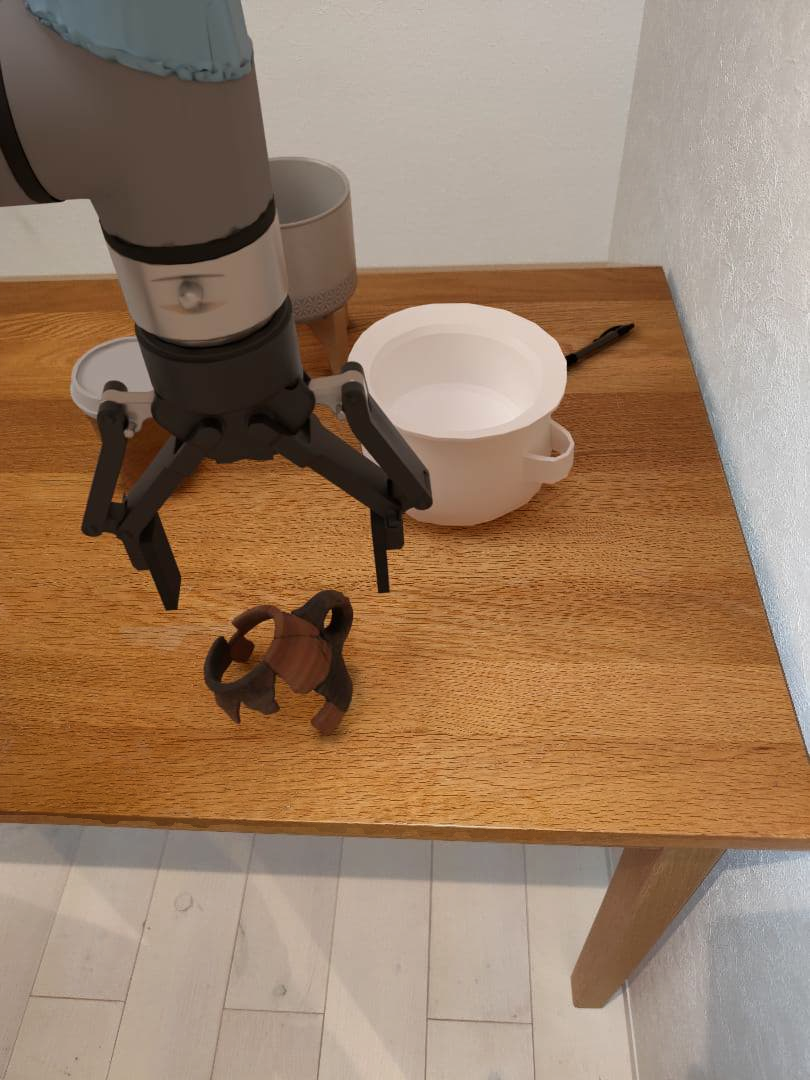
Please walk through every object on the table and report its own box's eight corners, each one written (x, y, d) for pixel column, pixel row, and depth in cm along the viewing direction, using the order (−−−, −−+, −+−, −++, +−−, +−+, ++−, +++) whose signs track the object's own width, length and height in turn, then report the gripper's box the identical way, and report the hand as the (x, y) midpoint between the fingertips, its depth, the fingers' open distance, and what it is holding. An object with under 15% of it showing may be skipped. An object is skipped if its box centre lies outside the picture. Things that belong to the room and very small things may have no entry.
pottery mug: (313, 778, 62) (236, 718, 57) (243, 735, 69) (170, 679, 64) (407, 638, 66) (343, 571, 61) (332, 611, 73) (269, 549, 68)
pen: (624, 324, 95) (626, 315, 94) (636, 332, 94) (638, 322, 93) (527, 378, 89) (528, 369, 89) (539, 386, 88) (540, 377, 88)
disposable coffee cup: (85, 483, 82) (40, 378, 73) (159, 425, 87) (126, 320, 78) (158, 524, 78) (121, 419, 69) (232, 461, 83) (206, 355, 74)
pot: (300, 479, 81) (281, 371, 72) (413, 381, 90) (410, 273, 81) (504, 590, 72) (513, 481, 63) (608, 467, 81) (629, 357, 72)
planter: (302, 301, 100) (281, 143, 87) (388, 345, 94) (379, 183, 81) (214, 356, 94) (176, 195, 80) (300, 407, 88) (274, 242, 74)
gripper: (-78, 374, 39) (76, 648, 55) (484, 330, 40) (476, 616, 56) (-34, 280, 44) (95, 557, 60) (465, 242, 45) (463, 527, 61)
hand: (278, 585), depth 58 cm, fingers open, 13 cm apart
